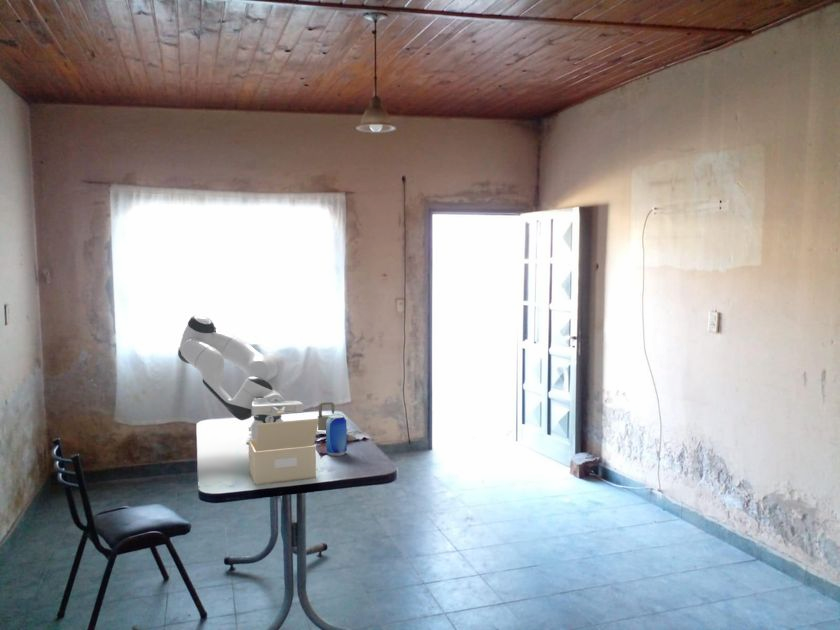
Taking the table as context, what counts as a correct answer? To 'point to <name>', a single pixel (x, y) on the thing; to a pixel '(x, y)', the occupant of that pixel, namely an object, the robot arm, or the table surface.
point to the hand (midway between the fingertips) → (280, 411)
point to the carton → (281, 464)
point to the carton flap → (286, 434)
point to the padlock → (324, 417)
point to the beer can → (336, 435)
